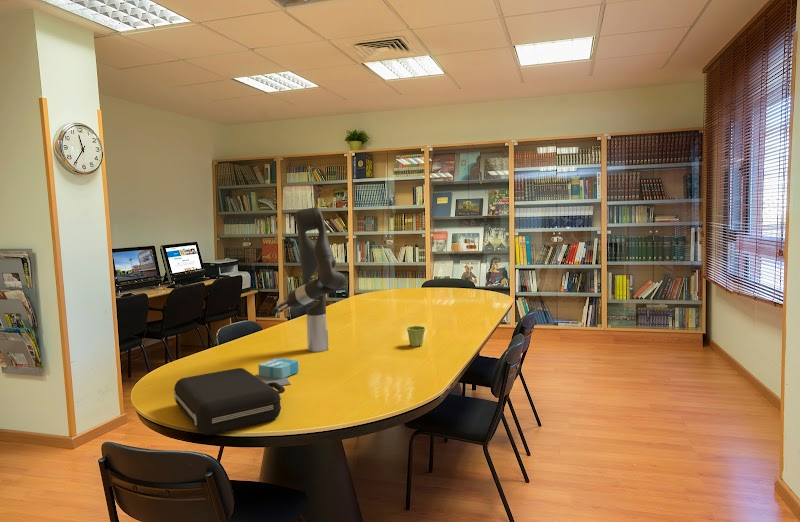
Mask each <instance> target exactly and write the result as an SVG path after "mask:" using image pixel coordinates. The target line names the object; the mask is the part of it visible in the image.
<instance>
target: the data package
mask: <svg viewBox="0 0 800 522" xmlns="http://www.w3.org/2000/svg"><path fill="white" fill-rule="evenodd" d="M257 368H258V375H259V376H262V377H268V378H274V379H283V378H285V377H286V378H287V377H289V376H292V375H295V374H298V373H299V360H297V359H290V358H289V359H288V358H281V357H276V358H273V359H270V360H266V361H264V362H262V363H259V364H258V367H257Z"/></svg>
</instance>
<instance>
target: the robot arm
mask: <svg viewBox="0 0 800 522" xmlns="http://www.w3.org/2000/svg"><path fill="white" fill-rule="evenodd" d="M295 224H296V225H295V227H296V231H297V237H298V246H299V250H298V251H299V262H300V268H301V282H302V283H301V285H300V286H299V287H297V288H295V289H293V290H291V291H289V293H288V295H287V298H286V299H284V300H283V301H282V302H280V303H279V304H278V305H276V306H275V307H273V308H272V309H270V312H271V314H272V315H275V314H277V313H278V314H279V313H282V312H284V311H287V310H289V309H291V308H294V309H300V308H302V307H304V306H306V305H307V304H309V303H311V302H314V301H318V302H317V303H315V304H314V305H312V306H310V307H307V308H306V310H305V311H306V312H305V313H306V334H307V335H306V336H307V351H308V352H313V353H317V352H319V353H320V352H325V351H328V350H329V330H328V329H327V308H326V307H327V305H326V304H327V303H326V300H327V298H326V295H328V294H331V293H335V292H338V291H340V290H342V289H343V287H344V286H345V285H346V281H347V279H346V276H345V275H344V274H343V273H342V272H339V271H337V270H335V269H334V268H335V267H336V259H335V257H334V253H333V251H332V248H331V245H330V241H329V238H328V237H329V236H328V232H327V229H326V228H327V227H326V223H325V220H324V217H323V213H322V211H321V209H320V208H319V207H310V208H304V209H300V210H297V211H296V212H295ZM314 230H318V236H317V239H316V241H315V242H314V241H313V240H312V239H311V238H310V237H309V236H308V234H307V233H306V232H308V231H309V232H310V231H314ZM317 271H318V278H316V279H313V280H311V278H312V277H313V275H314V274H315V273H316V272H317Z"/></svg>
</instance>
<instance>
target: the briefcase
mask: <svg viewBox="0 0 800 522" xmlns="http://www.w3.org/2000/svg"><path fill="white" fill-rule="evenodd" d="M254 375H255V374H253V373H251V372H250V371H248V370H247V369H245V368H242V367H237V368H232V369H231V368H230V369H226V370H221V371H215V372H209V373H203V374H198V375H194V376H193V375H192V376H186V377H182V378H180V379H178V380H177V381H176V382H175V385H174V389H173V393H174V396H173V397H174V402H175V403H176V405H177V406H178V407H179V408H180V410H181V411H182V413H183V414H184V415H185V416H186V417H187V418H188V419H189V421H190V422H191V424H192V425H193V426H194V427H195V428H196V429H197V430H198V432H199V433H200V434H202V435H203V436H213V435H216V434H217V435H218V434H222V433H224V432H226V433H227V432H230V431H234V430H237V429H242V428H247V427H249V426H255V425H259V424H262V423H267V422H270V421H275V419H277V418H278V417H279V415H280V413H281V409H282V407H281V400H282V398H281V396H280V394H283V393H285V391H286V388H285V387H284V386H281V385H279V384H278V383H276V382H272V383H267V384H266V383H265V382H263V381H262V380H260V379H259V378H257V377H256V376H254Z"/></svg>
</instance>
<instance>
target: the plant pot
mask: <svg viewBox="0 0 800 522" xmlns="http://www.w3.org/2000/svg"><path fill="white" fill-rule="evenodd" d="M406 331H407V334H408V340H409V341H408V342H409V346H411V345H413V346H417V347H419V345H422V344H423V343H424V336H425V331H426V327H425V326H421V325H411V326H408V327H406ZM422 346H423V345H422Z"/></svg>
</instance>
